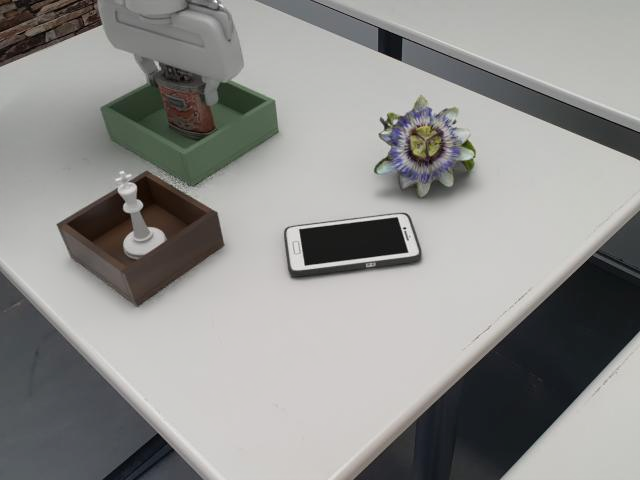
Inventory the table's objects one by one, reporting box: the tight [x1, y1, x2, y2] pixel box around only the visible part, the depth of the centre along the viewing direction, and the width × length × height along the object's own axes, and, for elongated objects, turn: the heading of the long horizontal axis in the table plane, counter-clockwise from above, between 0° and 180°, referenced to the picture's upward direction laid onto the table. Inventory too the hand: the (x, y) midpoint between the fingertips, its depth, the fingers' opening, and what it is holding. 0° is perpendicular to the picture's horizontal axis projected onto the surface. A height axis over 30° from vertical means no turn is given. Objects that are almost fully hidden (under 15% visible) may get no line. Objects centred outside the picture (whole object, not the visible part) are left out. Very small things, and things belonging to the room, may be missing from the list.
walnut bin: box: [56, 170, 225, 307], centre depth 78 cm, size 13×13×5 cm
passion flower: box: [373, 94, 477, 198], centre depth 84 cm, size 11×11×12 cm
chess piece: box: [114, 170, 167, 260], centre depth 75 cm, size 5×5×10 cm
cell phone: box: [283, 212, 423, 277], centre depth 77 cm, size 8×15×1 cm, turn 97°
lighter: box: [154, 62, 217, 139], centre depth 90 cm, size 8×3×10 cm, turn 55°
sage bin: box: [99, 74, 280, 187], centre depth 93 cm, size 18×16×5 cm
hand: (182, 93), depth 90 cm, fingers open, 8 cm apart
